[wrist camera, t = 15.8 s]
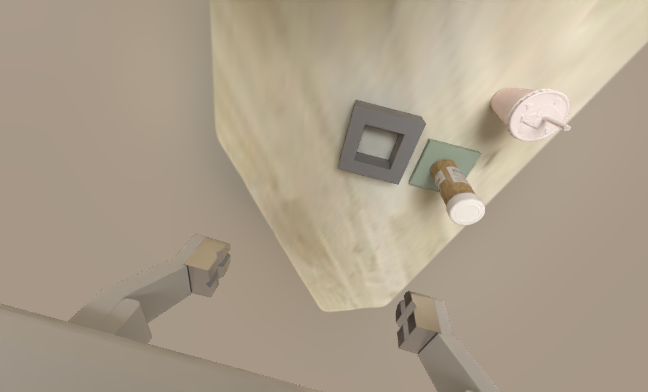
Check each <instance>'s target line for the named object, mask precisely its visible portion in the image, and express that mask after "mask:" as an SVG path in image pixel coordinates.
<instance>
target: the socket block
mask: <svg viewBox="0 0 648 392" xmlns="http://www.w3.org/2000/svg"><path fill="white" fill-rule="evenodd" d="M365 124H366V125H370V126H374V127H378V128H381V129H385V130H389V131H393V132H397V133H400V134H399V136H398V139H397V141H396V144H395V146H394V149H393V151H392V154H391V156H390V159H389V160H386V159H382V158H378V157H374V156H371V155H367V154H363V153H359V152H357V149H358V146H359V143H360V140H361V136H362V133H363V130H364V127H365ZM425 125H426V123H425V122H424V120H423V119H422V117H420V116H416V115H412V114H409V113H405V112H401V111H397V110H393V109H389V108H385V107H381V106H378V105H374V104H370V103H366V102H362V101H358V100H356V102H355V106H354V109H353V113H352V117H351V120H350V124H349V128H348V131H347V135H346V139H345V142H344V146H343V150H342V153H341V157H340V161H339V165H338V169H341V170H345V171H348V172H352V173H356V174H360V175H364V176H368V177H371V178H375V179H379V180H383V181H387V182H390V183H394V184H398V185H399V182H400V180H401V178H402V176H403V174H404V171H405V169H406V167H407V165H408V162H409V160H410V158H411V156H412V154H413V151H414V149H415V147H416V145H417V143H418V140H419V138H420V136H421V134H422V131H423V129H424V127H425Z"/></svg>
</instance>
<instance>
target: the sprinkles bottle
mask: <svg viewBox="0 0 648 392" xmlns="http://www.w3.org/2000/svg"><path fill="white" fill-rule="evenodd" d="M431 175H432V177H433V178H434V180H435V183H436V186H437V188H438V190H439V192H440V194H441V196H442V198H443V200H444V202H445V204H446V209H447V212H448V215H449V217H450V219H451V220H452V221H453V222H455V223H457V224H460V225H469V224H473V223H475V222H477V221H479V220H480V219H481V218H482V217H483V215H484V213H485V206H484V204H483V202H482V201H481V199H480V198H479V197H478V196H477V195H476V194H475V193H474V191H473V190H472V188H471V186H470V184H469V183H468V181H467V180H466V178H465V177H464V175H463V174H462V173H461V171H460V170H459V169H458V168H457V165H456V163H455V162H454V161H453V160H451V159H441V160H438V161H437V162H435V163H434V164H433V166H432V167H431Z"/></svg>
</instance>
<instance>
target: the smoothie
mask: <svg viewBox="0 0 648 392" xmlns="http://www.w3.org/2000/svg"><path fill="white" fill-rule="evenodd" d="M491 107H492V109H493V110H494V111H495V113H496V114H497V115H498V116H499V117H500V118H501V120H502V121H503V122H504V123H505V124H506V126H507V130H508V132H509V133H510V135H512V136H513V137H515V138H517V139H519V140H521V141H526V142H532V141H538V140H541V139H544V138H546V137H548V136H550V135H552V134H553V133H555V132H556V131H557V130H558V129H559V128H561V129H563V130H565V131H568V130H570V129H571V127H570V126H569V125H567V124H564V123H565V121H566V119H567V117H568V115H569V112H570V102H569V100H568V98H567V97H566V96H565V95H564V94H563V93H561V92H558V91H556V90H553V89H540V90H528V89H518V88H504V89H501V90H499V91H498V92H497V93H496V94H495V95H494V96H493V98H492V100H491Z"/></svg>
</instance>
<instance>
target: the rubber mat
mask: <svg viewBox="0 0 648 392" xmlns="http://www.w3.org/2000/svg"><path fill="white" fill-rule="evenodd" d="M480 155H481V153H480V152H479V151H475V150H471V149H467V148H463V147H459V146H455V145H452V144H448V143H444V142H440V141H436V140H432V139H429V140H428V142H427V144H426V146H425V148H424V150H423V153H422V155H421V157H420V159H419V161H418V163H417V165H416V167H415V169H414V171H413V174H412V176H411V178H410V180H409V184H412V185H416V186H420V187H423V188H427V189H431V190H435V191H439V190H438V188H437V186H436V183H435V180H434V178H433V177H432V175H431V167H432V166H433V164H434V163H435V162H437V161H438V160H441V159H451V160H453V161H454V162H455V163H456V165H457V168H458V169H459V170H460V171H461V173H462V174H463V175H464V177H465V178H466V177H467V175H468V174H469V172H470V171H471V169H472V167H473V166H474V164H475V163H476V161H477V159H478V158H479V156H480Z"/></svg>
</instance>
